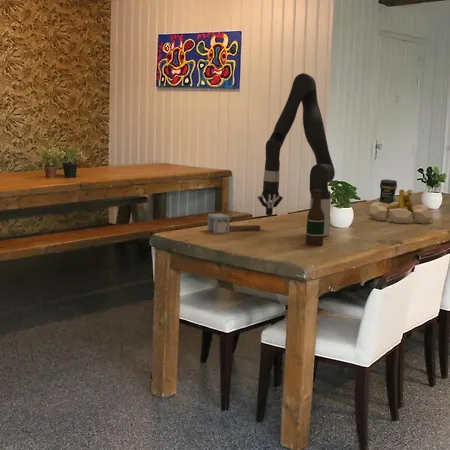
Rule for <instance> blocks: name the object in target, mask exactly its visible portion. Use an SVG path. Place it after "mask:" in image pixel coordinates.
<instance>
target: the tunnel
mask: <svg viewBox="0 0 450 450" xmlns="http://www.w3.org/2000/svg"><path fill="white" fill-rule="evenodd" d="M224 220H226V226H227V229H226V232H225V233H226V234H230V231H229V226H231V225H230V223H231V222H230V221H231V216H229V215H226V214H224V213H221V212H220V213H208V214H207V227H206V228H207V231H213V225H214V222H215V229H214V231H213V232H214V234H218V233H217V225H218V221H224Z"/></svg>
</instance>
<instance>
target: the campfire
mask: <svg viewBox="0 0 450 450" xmlns="http://www.w3.org/2000/svg"><path fill="white" fill-rule="evenodd" d="M413 193H414V191H413V189H408V190H406V191H405V190H404V189H399V192H398V194H399V196H398V198H399V199H398V200H399V201H395V202H393V203H390V204H387V203H381V202H379V201H374V202H373V203H371V204H370V205H369V210H368V211H369V212H368V214H369V215H370V217H371V219H372V220H374V221H377V220H378V221H377V222H384V221H386V219H387V217H388V219H389V220H390V221H391V222H392V223H394V224H401V223H408V224H410V223H413V222H415V223H416V222H418V223H417V224H420V223H426V224H430V222H431V221H432V220H433V217H434V216H433V211H432V209H431V207H429V206H427V205H424V204H415V205H414V201H413V199H411V195H412V194H413Z"/></svg>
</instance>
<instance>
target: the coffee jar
mask: <svg viewBox="0 0 450 450" xmlns="http://www.w3.org/2000/svg"><path fill="white" fill-rule="evenodd" d="M379 183H380V184H379V188H380V194H379V195H380V196H379V199H378V200H379V201H378V202H381V203H387V204H390V203H393V202H396V190H397V189H398V182H397V180H392V179H381V180H380V182H379Z"/></svg>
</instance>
